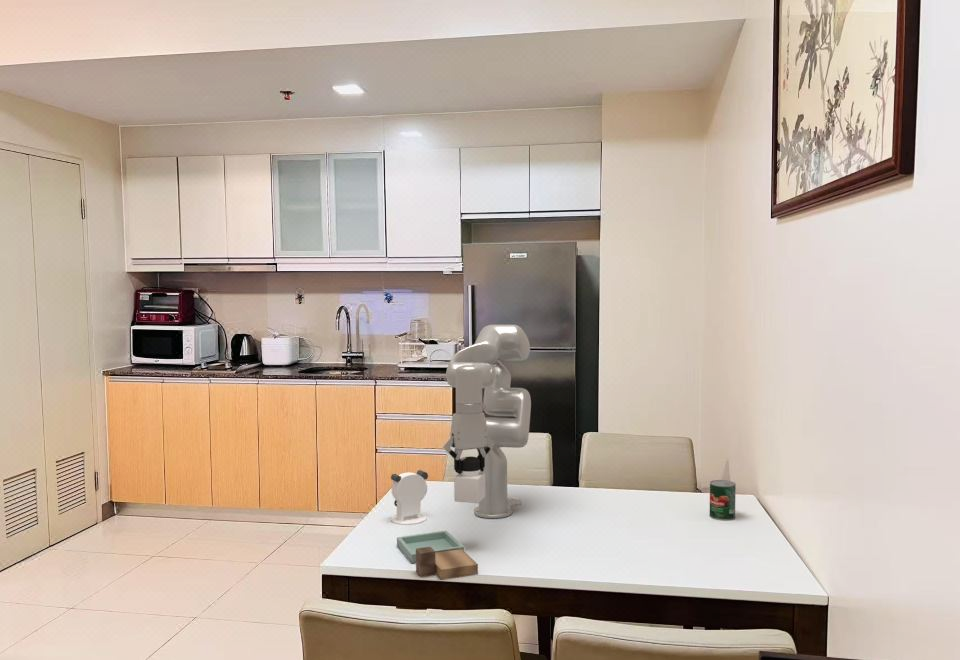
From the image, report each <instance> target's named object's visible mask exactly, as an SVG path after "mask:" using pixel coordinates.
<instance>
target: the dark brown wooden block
mask: <svg viewBox="0 0 960 660" xmlns="http://www.w3.org/2000/svg"><path fill="white" fill-rule="evenodd" d="M415 571H416V573H417V574H418V576H419V577H421V578H422V577H429V576H434V575H436V568H435V551H434V550H433V549H432V548H431V547H424V548H417V549H416V563H415Z"/></svg>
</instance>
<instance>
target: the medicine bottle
mask: <svg viewBox="0 0 960 660" xmlns="http://www.w3.org/2000/svg"><path fill="white" fill-rule="evenodd" d="M460 460H462V473H461V474H458V473H457V475H455V476H454V477H453V478H454V479H453V486H454V489H453V490H454V491H453V492H454V493H453V495H454V496H453V497H454V502H455V503H457V502H458V503H469V504H479V502H480V501H481V500H482V499H483V498H484V497H485V473H481V472H480V459H479V458H477V456H471V455H470V456H464V457H460Z"/></svg>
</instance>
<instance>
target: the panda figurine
mask: <svg viewBox="0 0 960 660" xmlns="http://www.w3.org/2000/svg"><path fill="white" fill-rule="evenodd" d="M428 478H429V475H428V472H426V471H424V470H422V469H418V470H417V471H416V473H415V472H409V471H408V472H403V473H400V474H399V475H398V474H397V473H392V474H391V476H390V479H391V480H392V484H391V495H392V497H393V498H394V499H395V500H394V502H393V503H394V506H395V507H396V514H395V515H393V516H392V517H391V518H390V521H391V522H392V523H393V524H396V525H402V526H412V525H418V524H423V523H424V522H426V521H427V515H425V514H423V513H421V504H422V503H421V502H422V501H423V499H424V498H425V496H426V495H427V492H428V484H427V482H426V480H428Z"/></svg>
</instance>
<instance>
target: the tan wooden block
mask: <svg viewBox="0 0 960 660" xmlns="http://www.w3.org/2000/svg"><path fill="white" fill-rule="evenodd" d="M435 568H436V574H435V575H436V576H437V577H438V578H439V579H440V580H441V581H442V580H447V579H449V580H450V579H453V578H461V577H468V576H473V575H478V574H479V564H478V563H477V562H476V561H475V560H474V559H473V558H472V557H471V556H470V555H469V554H468V553H467V552H466V551H465V549H464V550H463V549H459V550H452V551H445V552H437V553H435Z"/></svg>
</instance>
